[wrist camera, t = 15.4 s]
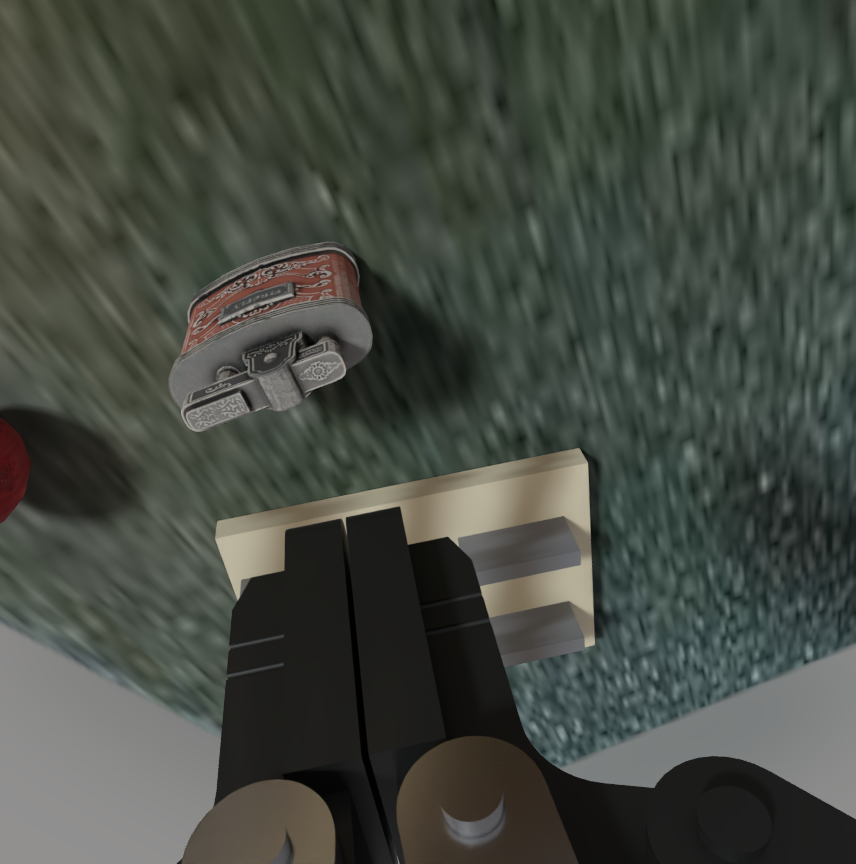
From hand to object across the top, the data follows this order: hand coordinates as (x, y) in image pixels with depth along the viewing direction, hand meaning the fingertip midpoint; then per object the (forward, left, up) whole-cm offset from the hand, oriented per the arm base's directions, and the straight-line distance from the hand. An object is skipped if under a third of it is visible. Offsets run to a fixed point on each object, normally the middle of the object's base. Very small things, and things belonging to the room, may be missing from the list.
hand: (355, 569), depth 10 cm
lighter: (+3, +6, -27) cm, 28 cm away
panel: (-1, +25, -27) cm, 37 cm away
